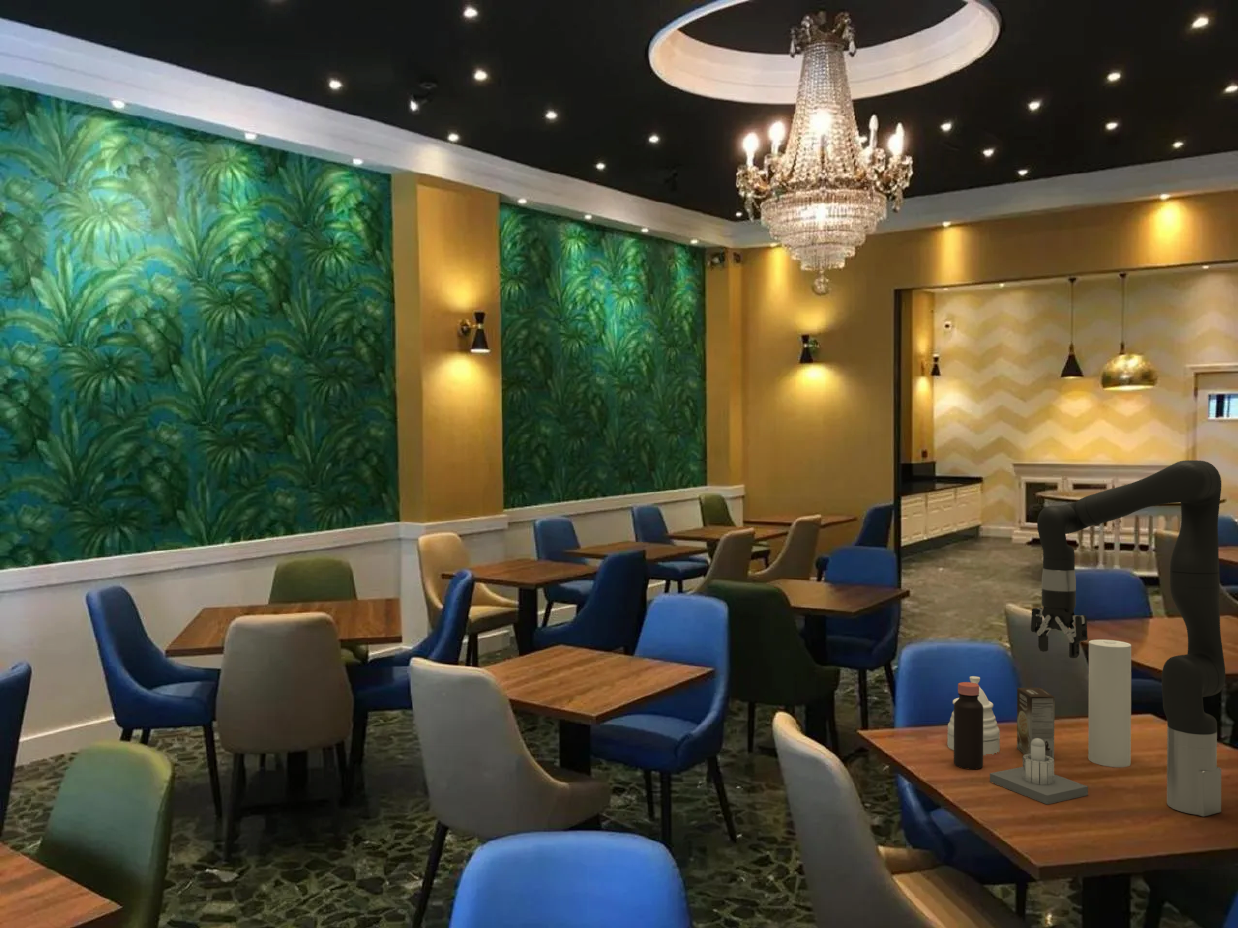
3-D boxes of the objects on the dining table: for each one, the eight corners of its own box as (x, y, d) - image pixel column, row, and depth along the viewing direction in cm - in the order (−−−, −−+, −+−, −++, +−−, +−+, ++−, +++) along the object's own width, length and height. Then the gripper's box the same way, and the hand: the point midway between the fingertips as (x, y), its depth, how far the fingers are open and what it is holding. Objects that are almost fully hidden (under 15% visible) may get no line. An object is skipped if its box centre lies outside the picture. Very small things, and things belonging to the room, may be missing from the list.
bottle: (989, 766, 234) (989, 685, 233) (970, 771, 230) (970, 688, 230) (966, 758, 240) (966, 679, 239) (947, 763, 236) (948, 683, 236)
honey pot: (952, 737, 258) (952, 671, 258) (1003, 744, 251) (1003, 676, 251) (942, 750, 247) (942, 681, 247) (995, 758, 240) (995, 687, 240)
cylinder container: (1105, 752, 244) (1105, 636, 244) (1139, 763, 236) (1139, 642, 235) (1079, 758, 240) (1080, 639, 240) (1113, 769, 232) (1113, 646, 231)
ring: (1059, 781, 217) (1060, 760, 217) (1040, 786, 214) (1040, 764, 214) (1036, 773, 223) (1036, 752, 223) (1016, 777, 220) (1017, 755, 220)
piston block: (1087, 795, 214) (1088, 744, 214) (1046, 804, 209) (1047, 752, 208) (1029, 773, 229) (1029, 725, 228) (989, 781, 223) (989, 732, 223)
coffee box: (1015, 748, 248) (1015, 686, 248) (1040, 748, 248) (1040, 687, 248) (1030, 759, 239) (1030, 695, 239) (1055, 759, 239) (1056, 696, 239)
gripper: (1095, 590, 226) (1094, 658, 226) (1045, 583, 239) (1044, 647, 239) (1073, 592, 223) (1072, 661, 223) (1023, 585, 236) (1023, 650, 236)
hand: (1058, 654), depth 231 cm, fingers open, 8 cm apart
